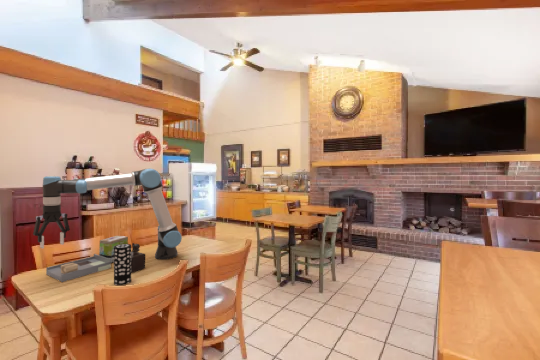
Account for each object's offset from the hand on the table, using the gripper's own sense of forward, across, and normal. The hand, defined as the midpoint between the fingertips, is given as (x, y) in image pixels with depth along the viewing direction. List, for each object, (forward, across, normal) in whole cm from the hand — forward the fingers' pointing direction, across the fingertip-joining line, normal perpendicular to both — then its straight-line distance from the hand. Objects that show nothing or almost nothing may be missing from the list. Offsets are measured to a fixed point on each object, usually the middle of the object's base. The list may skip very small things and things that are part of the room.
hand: (52, 245), depth 146 cm
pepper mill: (+20, -34, +22) cm, 45 cm away
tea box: (+20, -38, -9) cm, 44 cm away
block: (+17, -8, 0) cm, 19 cm away
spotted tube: (+20, -20, +33) cm, 43 cm away
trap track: (+19, -15, -4) cm, 25 cm away
